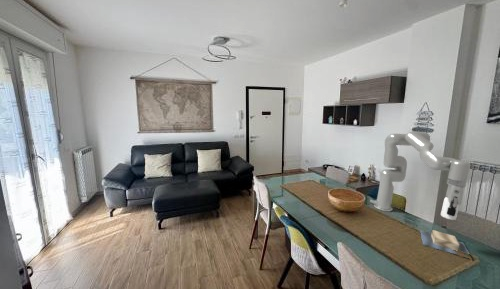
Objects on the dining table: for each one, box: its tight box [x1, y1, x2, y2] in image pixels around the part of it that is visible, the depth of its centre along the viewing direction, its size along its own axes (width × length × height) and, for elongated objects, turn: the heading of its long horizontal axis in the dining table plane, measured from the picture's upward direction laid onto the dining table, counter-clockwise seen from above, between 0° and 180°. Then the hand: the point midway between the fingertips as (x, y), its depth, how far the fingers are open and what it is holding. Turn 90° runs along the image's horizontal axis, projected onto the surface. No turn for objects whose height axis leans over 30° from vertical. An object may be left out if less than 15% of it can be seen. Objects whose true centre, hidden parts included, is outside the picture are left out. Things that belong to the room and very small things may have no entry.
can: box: [440, 195, 460, 221], centre depth 117 cm, size 6×6×12 cm
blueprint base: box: [419, 229, 471, 255], centre depth 120 cm, size 20×18×5 cm
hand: (449, 212), depth 117 cm, fingers closed on can, 6 cm apart
